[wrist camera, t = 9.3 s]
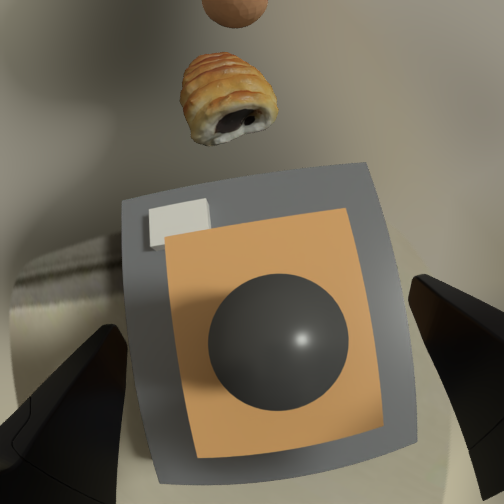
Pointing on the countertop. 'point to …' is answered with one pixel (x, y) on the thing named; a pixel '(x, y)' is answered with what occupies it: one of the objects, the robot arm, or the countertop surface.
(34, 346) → the countertop surface
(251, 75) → the pastry
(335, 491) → the countertop surface
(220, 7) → the egg
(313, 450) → the socket
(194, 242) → the plug
